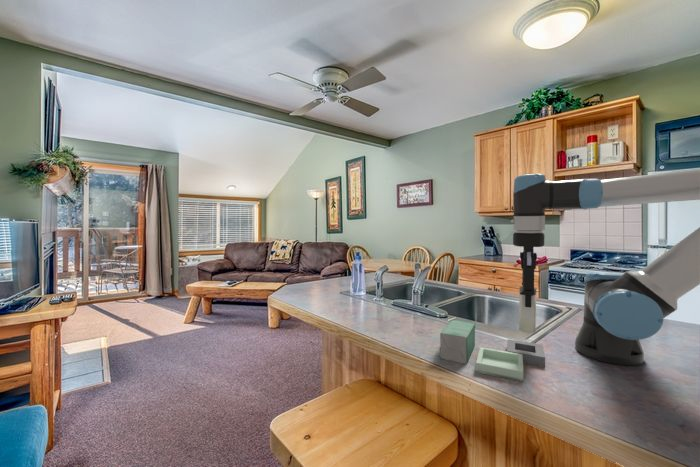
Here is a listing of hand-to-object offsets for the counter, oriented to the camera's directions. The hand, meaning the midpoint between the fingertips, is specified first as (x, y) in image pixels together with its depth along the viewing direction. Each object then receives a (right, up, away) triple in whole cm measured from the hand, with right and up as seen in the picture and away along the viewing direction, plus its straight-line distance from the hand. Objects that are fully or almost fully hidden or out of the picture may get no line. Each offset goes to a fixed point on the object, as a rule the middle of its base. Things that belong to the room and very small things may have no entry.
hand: (527, 315), depth 88 cm
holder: (0, -12, +1) cm, 12 cm away
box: (-18, -12, +4) cm, 22 cm away
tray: (-10, -12, -5) cm, 17 cm away
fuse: (0, -4, 0) cm, 4 cm away
